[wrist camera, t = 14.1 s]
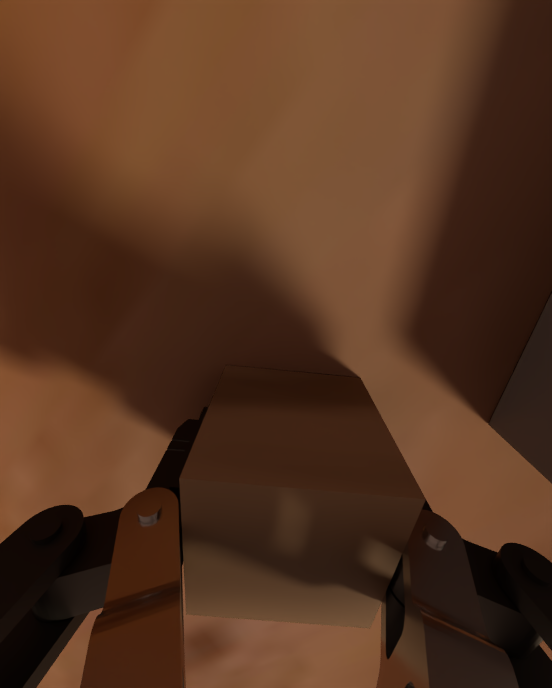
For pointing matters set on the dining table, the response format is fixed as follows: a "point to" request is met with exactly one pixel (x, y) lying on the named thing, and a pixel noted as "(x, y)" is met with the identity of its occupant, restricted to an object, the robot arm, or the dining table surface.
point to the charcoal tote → (530, 400)
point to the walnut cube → (293, 501)
